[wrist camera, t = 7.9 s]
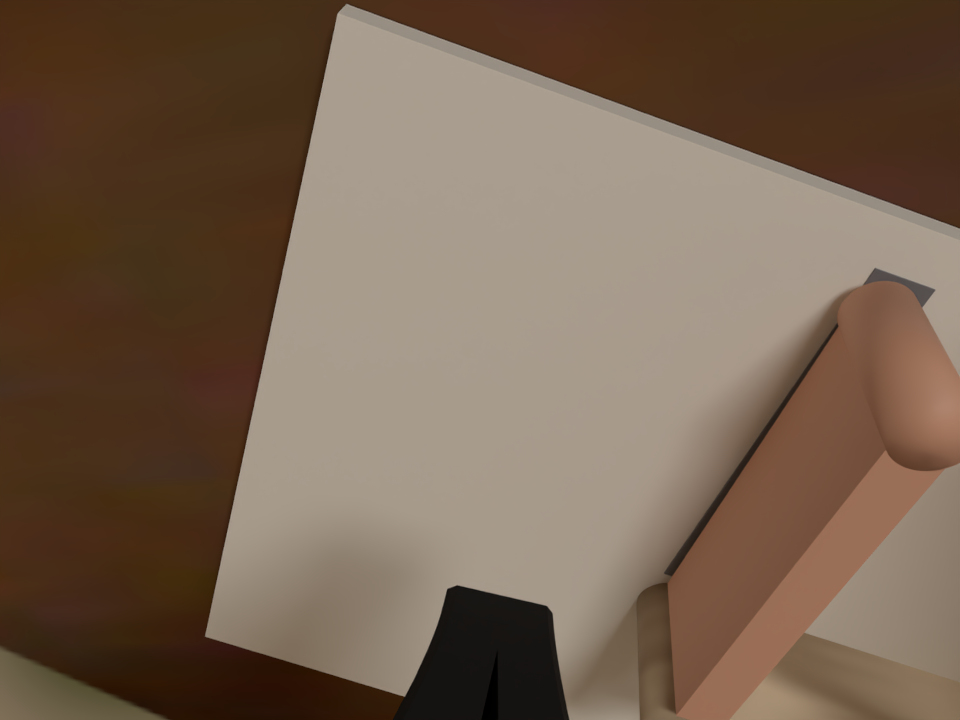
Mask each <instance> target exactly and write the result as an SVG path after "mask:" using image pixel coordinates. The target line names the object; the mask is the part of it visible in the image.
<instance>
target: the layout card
mask: <svg viewBox="0 0 960 720" xmlns="http://www.w3.org/2000/svg"><path fill="white" fill-rule="evenodd" d="M877 281H892V282H897V283H900V284H902V285H904V286H906V287H908V288H909V289H910V290H911V291H912V292H913V293H914V294H915V296H916V298H917V300H918V301H919V303H920V305H921V307H922V309H923V311H924V312H925V314H926V316H927V318H928V320H929V322H930V323H931V325H932V327H933V329H934V331H935V333H936V334H937V336H938V338H939V340H940V342H941V344H942V345H943V347H944V349H945V351H946V353H947V355H948V356H949V358H950V360H951V362H952V364H953V366H954V367H955V369H956V371H957V373H958V375H959V377H960V229H959V228H956V227H954V226H951V225H948V224H945V223H943V222H940V221H937V220H935V219H932V218H929V217H926V216H924V215H921V214H918V213H915V212H913V211H910V210H907V209H905V208H902V207H899V206H896V205H894V204H891V203H888V202H885V201H883V200H880V199H877V198H874V197H872V196H869V195H866V194H864V193H861V192H858V191H855V190H853V189H850V188H847V187H844V186H842V185H839V184H836V183H834V182H831V181H828V180H825V179H823V178H820V177H817V176H814V175H812V174H809V173H806V172H804V171H801V170H798V169H795V168H793V167H790V166H787V165H784V164H782V163H779V162H776V161H774V160H771V159H768V158H765V157H763V156H760V155H757V154H754V153H752V152H749V151H746V150H743V149H741V148H738V147H735V146H733V145H730V144H727V143H724V142H722V141H719V140H716V139H713V138H711V137H708V136H705V135H703V134H700V133H697V132H694V131H692V130H689V129H686V128H683V127H681V126H678V125H675V124H673V123H670V122H667V121H664V120H662V119H659V118H656V117H653V116H651V115H648V114H645V113H642V112H640V111H637V110H634V109H632V108H629V107H626V106H623V105H621V104H618V103H615V102H612V101H610V100H607V99H604V98H602V97H599V96H596V95H593V94H591V93H588V92H585V91H582V90H580V89H577V88H574V87H572V86H569V85H566V84H563V83H561V82H558V81H555V80H552V79H550V78H547V77H544V76H541V75H539V74H536V73H533V72H531V71H528V70H525V69H522V68H520V67H517V66H514V65H511V64H509V63H506V62H503V61H501V60H498V59H495V58H492V57H490V56H487V55H484V54H481V53H479V52H476V51H473V50H471V49H468V48H465V47H462V46H460V45H457V44H454V43H451V42H449V41H446V40H443V39H441V38H438V37H435V36H432V35H430V34H427V33H424V32H421V31H419V30H416V29H413V28H410V27H408V26H405V25H402V24H400V23H397V22H394V21H391V20H389V19H386V18H383V17H380V16H378V15H375V14H372V13H370V12H367V11H364V10H361V9H359V8H356V7H353V6H350V5H348V4H346V5H345V6H344V7H343V8H342V9H341V10H340V11H339V12H338V15H337V20H336V24H335V29H334V34H333V38H332V43H331V48H330V52H329V57H328V62H327V66H326V71H325V76H324V81H323V85H322V90H321V95H320V99H319V104H318V109H317V113H316V118H315V123H314V127H313V132H312V137H311V142H310V146H309V151H308V156H307V160H306V165H305V170H304V174H303V179H302V184H301V189H300V193H299V198H298V203H297V207H296V212H295V217H294V221H293V226H292V231H291V235H290V240H289V245H288V250H287V254H286V259H285V264H284V268H283V273H282V278H281V282H280V287H279V292H278V296H277V301H276V306H275V311H274V315H273V320H272V325H271V329H270V334H269V339H268V343H267V348H266V353H265V358H264V362H263V367H262V372H261V376H260V381H259V386H258V390H257V395H256V400H255V404H254V409H253V414H252V419H251V423H250V428H249V433H248V437H247V442H246V447H245V451H244V456H243V461H242V466H241V470H240V475H239V480H238V484H237V489H236V494H235V498H234V503H233V508H232V512H231V517H230V522H229V527H228V531H227V536H226V541H225V545H224V550H223V555H222V559H221V564H220V569H219V573H218V578H217V583H216V588H215V592H214V597H213V602H212V606H211V611H210V616H209V620H208V625H207V630H206V635H205V637H208V638H211V639H215V640H218V641H221V642H225V643H228V644H231V645H235V646H238V647H241V648H245V649H248V650H251V651H255V652H258V653H261V654H265V655H268V656H271V657H275V658H278V659H281V660H285V661H288V662H291V663H295V664H298V665H301V666H305V667H308V668H311V669H315V670H318V671H321V672H325V673H328V674H331V675H335V676H338V677H341V678H344V679H348V680H351V681H354V682H358V683H361V684H364V685H368V686H371V687H374V688H378V689H381V690H384V691H388V692H391V693H394V694H398V695H401V696H404V697H405V695H406V694H407V692H408V690H409V688H410V686H411V684H412V682H413V680H414V678H415V676H416V674H417V672H418V669H419V667H420V665H421V663H422V661H423V658H424V656H425V654H426V652H427V650H428V647H429V645H430V642H431V640H432V637H433V635H434V632H435V630H436V627H437V624H438V621H439V618H440V615H441V611H442V607H443V603H444V599H445V596H446V592H447V589H448V588H451V587H454V586H456V585H459V586H463V587H467V588H472V589H476V590H480V591H485V592H489V593H493V594H498V595H502V596H507V597H511V598H515V599H520V600H524V601H528V602H533V603H537V604H541V605H546V606H548V608H549V609H550V610H551V612H552V613H553V623H554V633H555V641H556V649H557V656H558V663H559V669H560V674H561V680H562V685H563V691H564V696H565V701H566V706H567V711H568V715H569V720H640V710H639V674H638V638H637V599H638V596H639V595H640V593H641V592H642V591H643V590H645V589H646V588H648V587H650V586H652V585H656V584H660V583H668V582H669V580H670V579H671V577H672V576H673V574H674V573H675V571H676V570H677V568H678V567H679V565H680V564H681V562H682V561H683V559H684V558H685V556H686V555H687V553H688V552H689V550H690V549H691V547H692V546H693V544H694V543H695V541H696V540H697V538H698V537H699V535H700V534H701V532H702V531H703V529H704V528H705V526H706V525H707V523H708V522H709V520H710V519H711V517H712V516H713V514H714V513H715V511H716V510H717V508H718V507H719V505H720V504H721V502H722V501H723V499H724V498H725V496H726V495H727V493H728V492H729V490H730V489H731V487H732V486H733V484H734V483H735V481H736V480H737V478H738V477H739V475H740V474H741V472H742V471H743V469H744V468H745V466H746V465H747V463H748V462H749V460H750V459H751V457H752V456H753V454H754V453H755V451H756V450H757V448H758V447H759V445H760V444H761V442H762V441H763V439H764V438H765V436H766V435H767V433H768V432H769V430H770V429H771V427H772V426H773V424H774V423H775V421H776V420H777V418H778V417H779V415H780V414H781V412H782V411H783V409H784V408H785V406H786V405H787V403H788V402H789V400H790V399H791V397H792V396H793V394H794V393H795V391H796V390H797V388H798V387H799V385H800V384H801V382H802V381H803V379H804V378H805V376H806V375H807V373H808V372H809V370H810V369H811V367H812V366H813V364H814V363H815V361H816V360H817V358H818V357H819V355H820V354H821V352H822V351H823V349H824V348H825V346H826V345H827V343H828V342H829V340H830V339H831V337H832V336H833V334H834V333H835V331H836V330H837V328H838V323H837V314H838V310H839V308H840V306H841V304H842V302H843V301H844V300H845V298H846V297H847V296H848V295H849V294H850V293H852V292H853V291H854V290H856V289H857V288H859V287H861V286H863V285H866V284H869V283H872V282H877ZM804 633H807V634H810V635H813V636H816V637H819V638H822V639H826V640H829V641H832V642H835V643H838V644H841V645H844V646H847V647H851V648H854V649H857V650H860V651H863V652H866V653H869V654H872V655H876V656H879V657H882V658H885V659H888V660H891V661H894V662H898V663H901V664H904V665H907V666H910V667H913V668H916V669H919V670H923V671H926V672H929V673H932V674H935V675H938V676H941V677H944V678H948V679H951V680H954V681H957V682H960V463H959V464H957V465H954V466H952V467H949V468H946V469H944V471H943V472H942V473H941V474H940V475H939V476H938V478H937V479H936V480H935V481H934V482H933V483H932V485H931V486H930V487H929V488H928V489H927V490H926V492H925V493H924V494H923V495H922V496H921V497H920V499H919V500H918V501H917V502H916V503H915V504H914V505H913V507H912V508H911V509H910V510H909V511H908V512H907V514H906V515H905V516H904V517H903V518H902V519H901V521H900V522H899V523H898V524H897V525H896V526H895V528H894V529H893V530H892V531H891V532H890V533H889V535H888V536H887V537H886V538H885V539H884V540H883V542H882V543H881V544H880V545H879V546H878V547H877V549H876V550H875V551H874V552H873V553H872V554H871V556H870V557H869V558H868V559H867V560H866V561H865V562H864V564H863V565H862V566H861V567H860V568H859V569H858V571H857V572H856V573H855V574H854V575H853V576H852V578H851V579H850V580H849V581H848V582H847V583H846V585H845V586H844V587H843V588H842V589H841V590H840V592H839V593H838V594H837V595H836V596H835V597H834V599H833V600H832V601H831V602H830V603H829V604H828V606H827V607H826V608H825V609H824V610H823V611H822V613H821V614H820V615H819V616H818V617H817V618H816V619H815V621H814V622H813V623H812V624H811V625H810V626H809V628H808V629H807V630H806V631H805V632H804Z"/></svg>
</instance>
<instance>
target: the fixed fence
mask: <svg viewBox="0 0 960 720" xmlns="http://www.w3.org/2000/svg"><path fill="white" fill-rule="evenodd" d="M637 638H638V674H639V710H640V720H689V719H685V718H682V717H678V716H676V707H675V691H674V676H673V661H672V645H671V630H670V615H669V599H668V584H667V583H660V584H656V585H652V586H650V587H648V588H646V589H645V590H643V591H642V592H641V593H640V595H639V596H638V599H637ZM730 720H960V682H957V681H954V680H951V679H948V678H944V677H941V676H938V675H935V674H932V673H929V672H926V671H923V670H919V669H916V668H913V667H910V666H907V665H904V664H901V663H898V662H894V661H891V660H888V659H885V658H882V657H879V656H876V655H872V654H869V653H866V652H863V651H860V650H857V649H854V648H851V647H847V646H844V645H841V644H838V643H835V642H832V641H829V640H826V639H822V638H819V637H816V636H813V635H810V634H807V633H803V635H802V636H801V637H800V638H799V639H798V640H797V642H796V643H795V644H794V645H793V646H792V647H791V649H790V650H789V651H788V652H787V653H786V654H785V656H784V657H783V658H782V659H781V660H780V661H779V663H778V664H777V665H776V666H775V667H774V668H773V670H772V671H771V672H770V673H769V674H768V675H767V676H766V678H765V679H764V680H763V681H762V682H761V683H760V685H759V686H758V687H757V688H756V689H755V690H754V692H753V693H752V694H751V695H750V696H749V697H748V699H747V700H746V701H745V702H744V703H743V704H742V706H741V707H740V708H739V709H738V710H737V711H736V713H735V714H734V715H733V716H732V717H731V718H730Z"/></svg>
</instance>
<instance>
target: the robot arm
mask: <svg viewBox="0 0 960 720" xmlns="http://www.w3.org/2000/svg"><path fill="white" fill-rule="evenodd" d="M393 720H569V715H568V711H567V706H566V701H565V696H564V691H563V685H562V680H561V674H560V669H559V663H558V656H557V649H556V641H555V633H554V623H553V613H552V612H551V610H550V609H549V608H548V606H546V605H541V604H537V603H533V602H528V601H524V600H520V599H515V598H511V597H507V596H502V595H498V594H493V593H489V592H485V591H480V590H476V589H472V588H467V587H463V586H459V585H456V586H454V587H451V588H448V589H447V592H446V596H445V599H444V603H443V607H442V611H441V615H440V618H439V621H438V624H437V627H436V630H435V632H434V635H433V637H432V640H431V642H430V645H429V647H428V650H427V652H426V654H425V656H424V658H423V661H422V663H421V665H420V667H419V669H418V672H417V674H416V676H415V678H414V680H413V682H412V684H411V686H410V688H409V690H408V692H407V694H406V695H405V697H404V699H403V701H402V703H401V705H400V707H399V709H398V711H397V713H396V715H395V717H394V719H393Z"/></svg>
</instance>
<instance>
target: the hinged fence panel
mask: <svg viewBox="0 0 960 720" xmlns="http://www.w3.org/2000/svg"><path fill="white" fill-rule="evenodd" d="M837 323H838V328H837V330H836V331H835V333H834V334H833V336H832V337H831V339H830V340H829V342H828V343H827V345H826V346H825V348H824V349H823V351H822V352H821V354H820V355H819V357H818V358H817V360H816V361H815V363H814V364H813V366H812V367H811V369H810V370H809V372H808V373H807V375H806V376H805V378H804V379H803V381H802V382H801V384H800V385H799V387H798V388H797V390H796V391H795V393H794V394H793V396H792V397H791V399H790V400H789V402H788V403H787V405H786V406H785V408H784V409H783V411H782V412H781V414H780V415H779V417H778V418H777V420H776V421H775V423H774V424H773V426H772V427H771V429H770V430H769V432H768V433H767V435H766V436H765V438H764V439H763V441H762V442H761V444H760V445H759V447H758V448H757V450H756V451H755V453H754V454H753V456H752V457H751V459H750V460H749V462H748V463H747V465H746V466H745V468H744V469H743V471H742V472H741V474H740V475H739V477H738V478H737V480H736V481H735V483H734V484H733V486H732V487H731V489H730V490H729V492H728V493H727V495H726V496H725V498H724V499H723V501H722V502H721V504H720V505H719V507H718V508H717V510H716V511H715V513H714V514H713V516H712V517H711V519H710V520H709V522H708V523H707V525H706V526H705V528H704V529H703V531H702V532H701V534H700V535H699V537H698V538H697V540H696V541H695V543H694V544H693V546H692V547H691V549H690V550H689V552H688V553H687V555H686V556H685V558H684V559H683V561H682V562H681V564H680V565H679V567H678V568H677V570H676V571H675V573H674V574H673V576H672V577H671V579H670V580H669V582H668V583H667V584H668V599H669V615H670V630H671V645H672V661H673V676H674V691H675V707H676V716H678V717H682V718H685V719H689V720H730V718H731V717H732V716H733V715H734V714H735V713H736V711H737V710H738V709H739V708H740V707H741V706H742V704H743V703H744V702H745V701H746V700H747V699H748V697H749V696H750V695H751V694H752V693H753V692H754V690H755V689H756V688H757V687H758V686H759V685H760V683H761V682H762V681H763V680H764V679H765V678H766V676H767V675H768V674H769V673H770V672H771V671H772V670H773V668H774V667H775V666H776V665H777V664H778V663H779V661H780V660H781V659H782V658H783V657H784V656H785V654H786V653H787V652H788V651H789V650H790V649H791V647H792V646H793V645H794V644H795V643H796V642H797V640H798V639H799V638H800V637H801V636H802V635H803V633H804V632H805V631H806V630H807V629H808V628H809V626H810V625H811V624H812V623H813V622H814V621H815V619H816V618H817V617H818V616H819V615H820V614H821V613H822V611H823V610H824V609H825V608H826V607H827V606H828V604H829V603H830V602H831V601H832V600H833V599H834V597H835V596H836V595H837V594H838V593H839V592H840V590H841V589H842V588H843V587H844V586H845V585H846V583H847V582H848V581H849V580H850V579H851V578H852V576H853V575H854V574H855V573H856V572H857V571H858V569H859V568H860V567H861V566H862V565H863V564H864V562H865V561H866V560H867V559H868V558H869V557H870V556H871V554H872V553H873V552H874V551H875V550H876V549H877V547H878V546H879V545H880V544H881V543H882V542H883V540H884V539H885V538H886V537H887V536H888V535H889V533H890V532H891V531H892V530H893V529H894V528H895V526H896V525H897V524H898V523H899V522H900V521H901V519H902V518H903V517H904V516H905V515H906V514H907V512H908V511H909V510H910V509H911V508H912V507H913V505H914V504H915V503H916V502H917V501H918V500H919V499H920V497H921V496H922V495H923V494H924V493H925V492H926V490H927V489H928V488H929V487H930V486H931V485H932V483H933V482H934V481H935V480H936V479H937V478H938V476H939V475H940V474H941V473H942V472H943V471H944V469H946V468H949V467H952V466H954V465H957V464H959V463H960V377H959V375H958V373H957V371H956V369H955V367H954V366H953V364H952V362H951V360H950V358H949V356H948V355H947V353H946V351H945V349H944V347H943V345H942V344H941V342H940V340H939V338H938V336H937V334H936V333H935V331H934V329H933V327H932V325H931V323H930V322H929V320H928V318H927V316H926V314H925V312H924V311H923V309H922V307H921V305H920V303H919V301H918V300H917V298H916V296H915V294H914V293H913V292H912V291H911V290H910V289H909V288H908V287H906V286H904V285H902V284H900V283H897V282H892V281H877V282H872V283H869V284H866V285H863V286H861V287H859V288H857V289H856V290H854V291H853V292H852V293H850V294H849V295H848V296H847V297H846V298H845V300H844V301H843V302H842V304H841V306H840V308H839V310H838V314H837Z"/></svg>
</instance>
